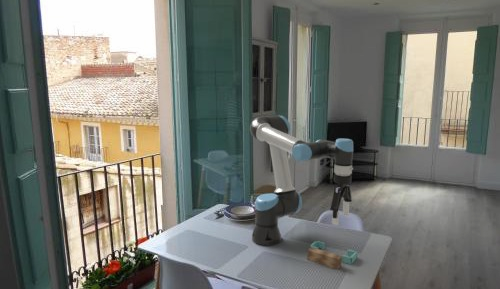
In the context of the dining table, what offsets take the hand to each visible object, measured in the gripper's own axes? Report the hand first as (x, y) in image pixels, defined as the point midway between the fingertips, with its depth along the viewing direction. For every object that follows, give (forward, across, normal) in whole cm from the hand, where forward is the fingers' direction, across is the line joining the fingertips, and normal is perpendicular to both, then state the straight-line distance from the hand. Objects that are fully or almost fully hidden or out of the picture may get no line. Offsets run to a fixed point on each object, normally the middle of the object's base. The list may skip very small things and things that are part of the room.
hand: (340, 219), depth 159 cm
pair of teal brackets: (+20, +3, +4) cm, 20 cm away
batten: (+20, -6, +4) cm, 21 cm away
